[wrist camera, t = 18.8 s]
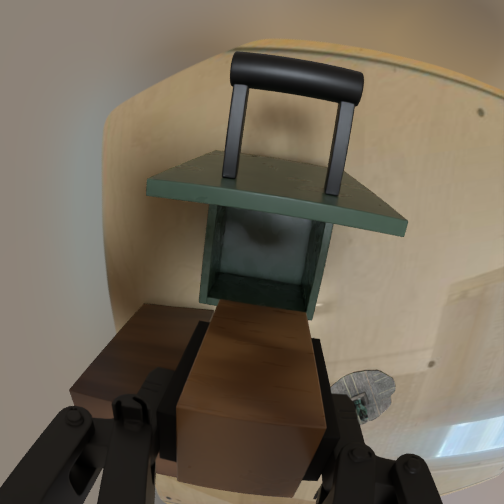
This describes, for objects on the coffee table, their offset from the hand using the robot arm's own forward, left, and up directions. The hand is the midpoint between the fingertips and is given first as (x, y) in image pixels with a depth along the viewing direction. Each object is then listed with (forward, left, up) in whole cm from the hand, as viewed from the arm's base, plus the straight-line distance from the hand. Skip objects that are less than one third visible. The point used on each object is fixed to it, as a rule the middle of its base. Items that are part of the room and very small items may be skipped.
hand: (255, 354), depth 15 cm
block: (0, 0, -1) cm, 1 cm away
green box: (-2, +1, -24) cm, 24 cm away
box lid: (-6, +5, -7) cm, 11 cm away
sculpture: (+29, -1, -24) cm, 38 cm away
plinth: (+5, -18, -24) cm, 31 cm away
